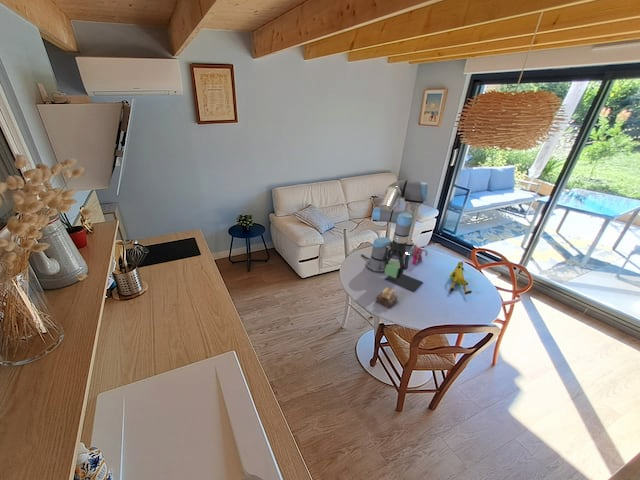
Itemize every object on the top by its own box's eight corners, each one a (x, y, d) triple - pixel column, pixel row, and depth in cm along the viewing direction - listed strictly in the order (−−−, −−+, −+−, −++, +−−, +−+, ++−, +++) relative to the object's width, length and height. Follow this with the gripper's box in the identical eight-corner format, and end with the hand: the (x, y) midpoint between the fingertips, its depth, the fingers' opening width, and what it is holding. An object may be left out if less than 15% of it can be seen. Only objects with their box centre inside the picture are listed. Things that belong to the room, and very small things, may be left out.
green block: (384, 273, 168) (386, 264, 165) (389, 268, 172) (391, 260, 169) (395, 278, 163) (397, 269, 160) (401, 273, 168) (403, 264, 165)
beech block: (381, 296, 176) (382, 290, 173) (385, 292, 179) (386, 287, 176) (389, 300, 173) (390, 294, 170) (393, 296, 176) (394, 290, 173)
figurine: (464, 282, 177) (462, 256, 199) (446, 288, 184) (446, 262, 206) (474, 295, 179) (471, 267, 200) (456, 300, 186) (455, 273, 208)
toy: (398, 251, 234) (406, 217, 219) (427, 264, 215) (438, 228, 200) (391, 254, 230) (399, 219, 215) (421, 268, 211) (431, 231, 196)
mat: (385, 279, 198) (385, 278, 198) (394, 271, 207) (394, 270, 207) (413, 291, 186) (413, 290, 186) (422, 282, 195) (422, 282, 194)
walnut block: (376, 301, 178) (377, 296, 176) (383, 295, 183) (384, 290, 181) (389, 308, 172) (390, 302, 170) (396, 301, 178) (397, 296, 176)
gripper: (380, 237, 161) (373, 271, 172) (415, 249, 148) (405, 284, 160) (386, 233, 165) (379, 266, 177) (420, 244, 153) (411, 279, 164)
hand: (392, 275), depth 168 cm, fingers closed on green block, 7 cm apart
